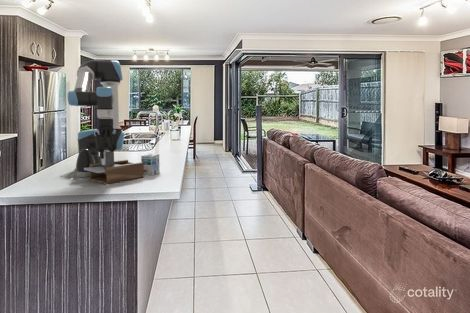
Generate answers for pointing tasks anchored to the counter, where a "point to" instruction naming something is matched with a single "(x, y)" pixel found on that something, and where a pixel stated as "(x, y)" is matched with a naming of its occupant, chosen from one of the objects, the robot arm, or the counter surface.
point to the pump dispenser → (84, 162)
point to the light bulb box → (150, 164)
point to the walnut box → (118, 172)
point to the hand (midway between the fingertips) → (107, 164)
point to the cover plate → (97, 169)
